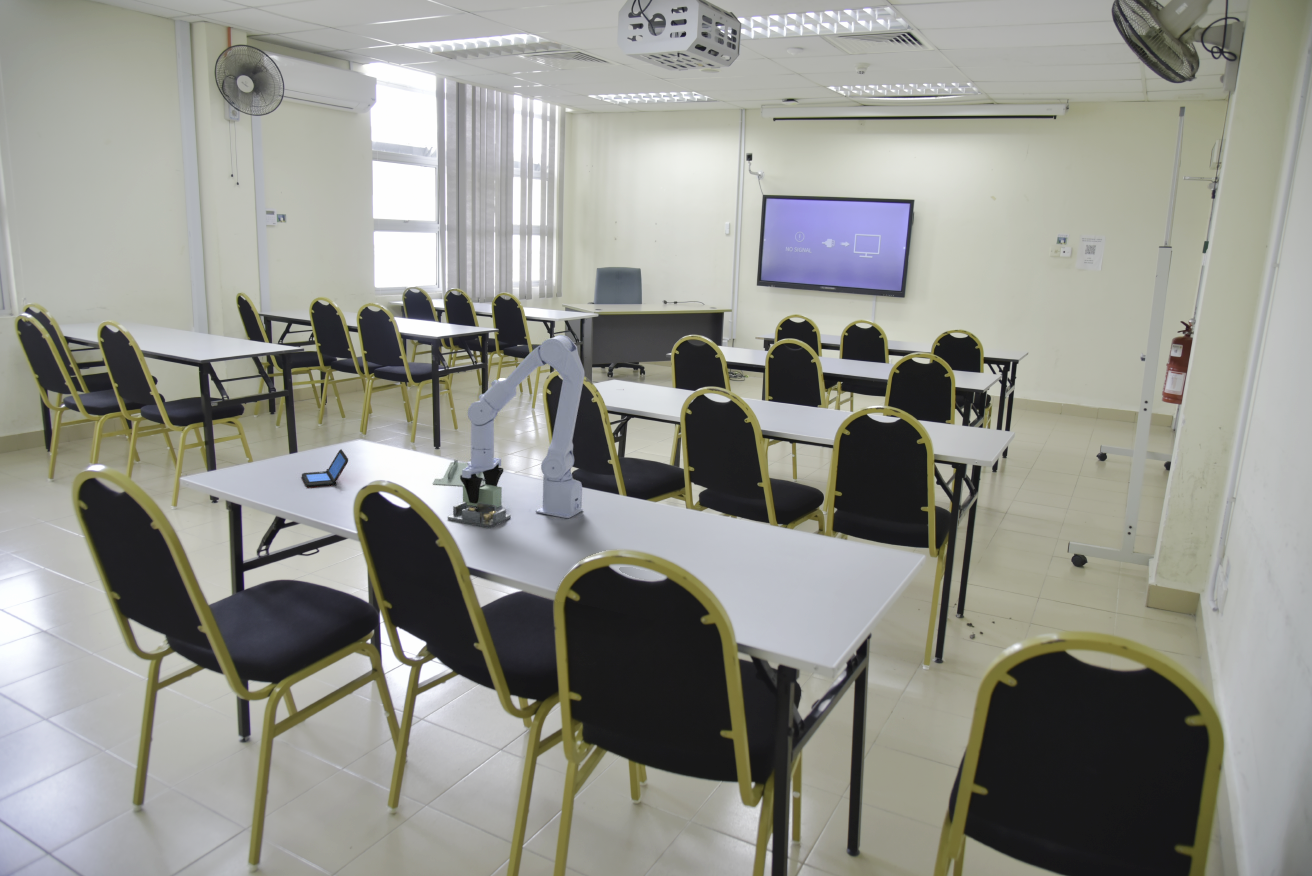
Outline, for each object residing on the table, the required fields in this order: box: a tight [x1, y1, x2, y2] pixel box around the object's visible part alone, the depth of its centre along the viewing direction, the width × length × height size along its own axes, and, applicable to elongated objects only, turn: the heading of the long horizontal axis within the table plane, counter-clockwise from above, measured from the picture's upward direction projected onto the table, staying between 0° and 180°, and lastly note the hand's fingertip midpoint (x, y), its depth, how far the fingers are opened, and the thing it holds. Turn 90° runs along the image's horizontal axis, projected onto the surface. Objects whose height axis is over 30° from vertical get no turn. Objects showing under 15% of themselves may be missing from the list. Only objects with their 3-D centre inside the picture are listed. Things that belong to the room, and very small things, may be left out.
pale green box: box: [462, 484, 503, 509], centre depth 218 cm, size 9×4×5 cm, turn 67°
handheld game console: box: [301, 448, 349, 489], centre depth 232 cm, size 12×11×7 cm
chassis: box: [447, 501, 512, 529], centre depth 207 cm, size 12×9×3 cm
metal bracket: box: [432, 458, 485, 487], centre depth 240 cm, size 14×6×15 cm
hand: (482, 498), depth 219 cm, fingers open, 7 cm apart
